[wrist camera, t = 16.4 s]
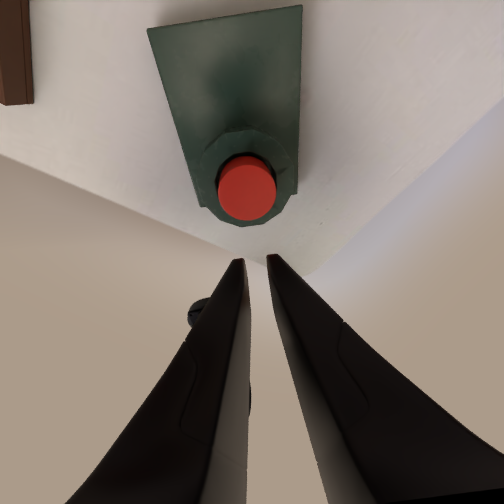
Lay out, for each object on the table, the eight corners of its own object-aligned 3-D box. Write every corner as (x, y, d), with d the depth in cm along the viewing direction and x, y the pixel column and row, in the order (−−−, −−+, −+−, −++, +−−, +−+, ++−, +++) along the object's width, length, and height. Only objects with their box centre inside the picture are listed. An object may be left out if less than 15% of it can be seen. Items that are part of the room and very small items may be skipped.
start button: (273, 203, 15) (277, 216, 14) (225, 209, 15) (224, 224, 14) (270, 151, 13) (275, 160, 11) (214, 159, 13) (211, 169, 11)
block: (293, 202, 18) (302, 219, 16) (205, 214, 18) (201, 232, 16) (297, 10, 11) (314, -11, 9) (152, 33, 11) (131, 18, 9)
